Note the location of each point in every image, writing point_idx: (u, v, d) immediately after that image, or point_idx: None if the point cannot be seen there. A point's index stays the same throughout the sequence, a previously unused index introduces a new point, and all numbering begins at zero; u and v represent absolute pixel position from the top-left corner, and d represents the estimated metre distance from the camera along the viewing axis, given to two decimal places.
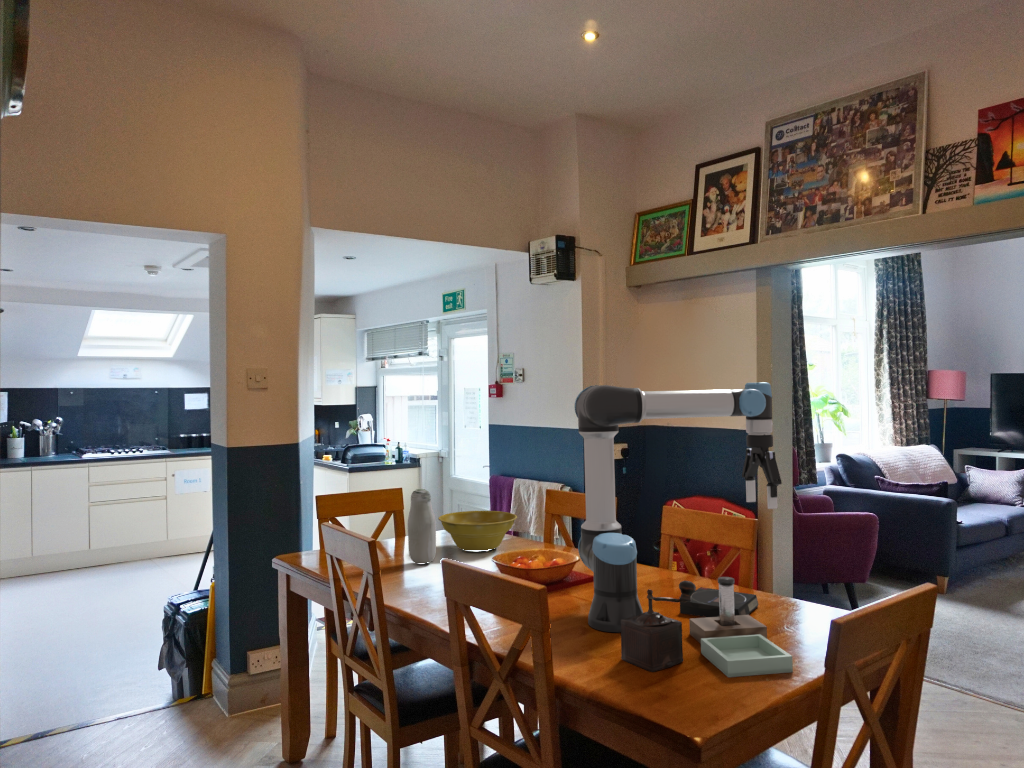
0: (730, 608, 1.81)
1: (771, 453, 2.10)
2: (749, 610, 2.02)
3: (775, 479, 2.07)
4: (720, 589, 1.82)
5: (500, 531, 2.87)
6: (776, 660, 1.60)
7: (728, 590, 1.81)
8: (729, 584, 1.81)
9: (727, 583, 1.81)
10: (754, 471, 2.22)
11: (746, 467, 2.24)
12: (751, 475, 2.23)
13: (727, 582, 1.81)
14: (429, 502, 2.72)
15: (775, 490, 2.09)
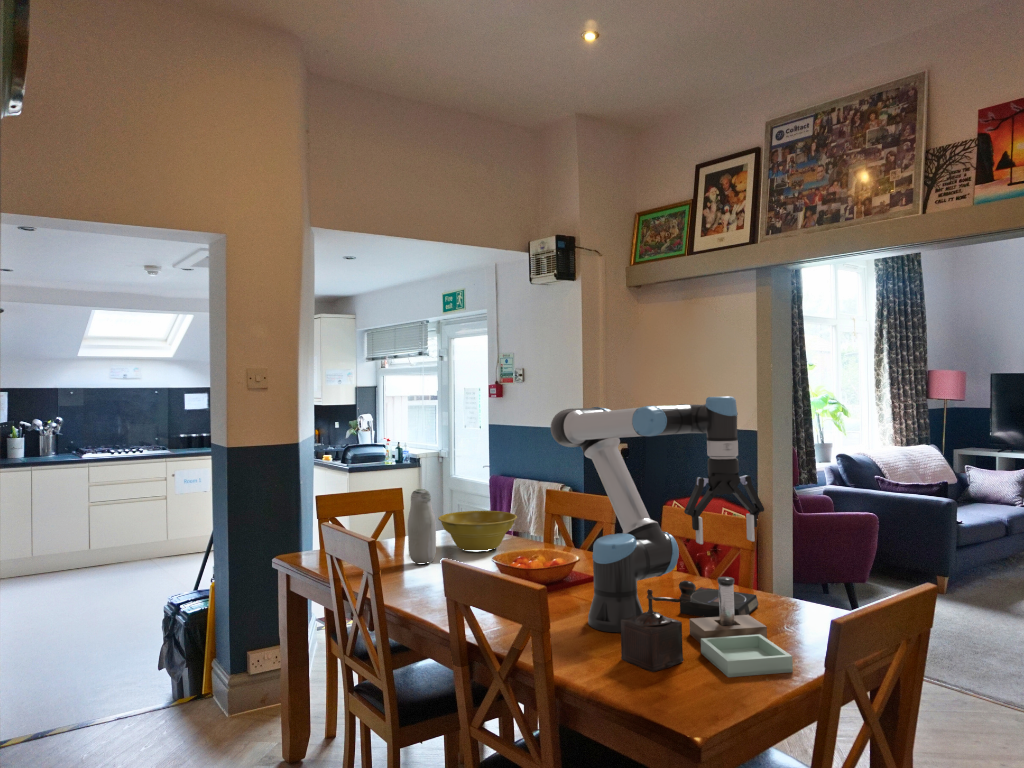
0: (730, 608, 1.81)
1: (698, 479, 1.83)
2: (749, 610, 2.02)
3: (687, 508, 1.82)
4: (720, 589, 1.82)
5: (500, 531, 2.87)
6: (776, 660, 1.60)
7: (727, 590, 1.81)
8: (729, 584, 1.81)
9: (727, 583, 1.81)
10: (743, 503, 1.84)
11: (750, 498, 1.85)
12: (747, 508, 1.84)
13: (727, 582, 1.81)
14: (429, 502, 2.72)
15: (693, 522, 1.82)
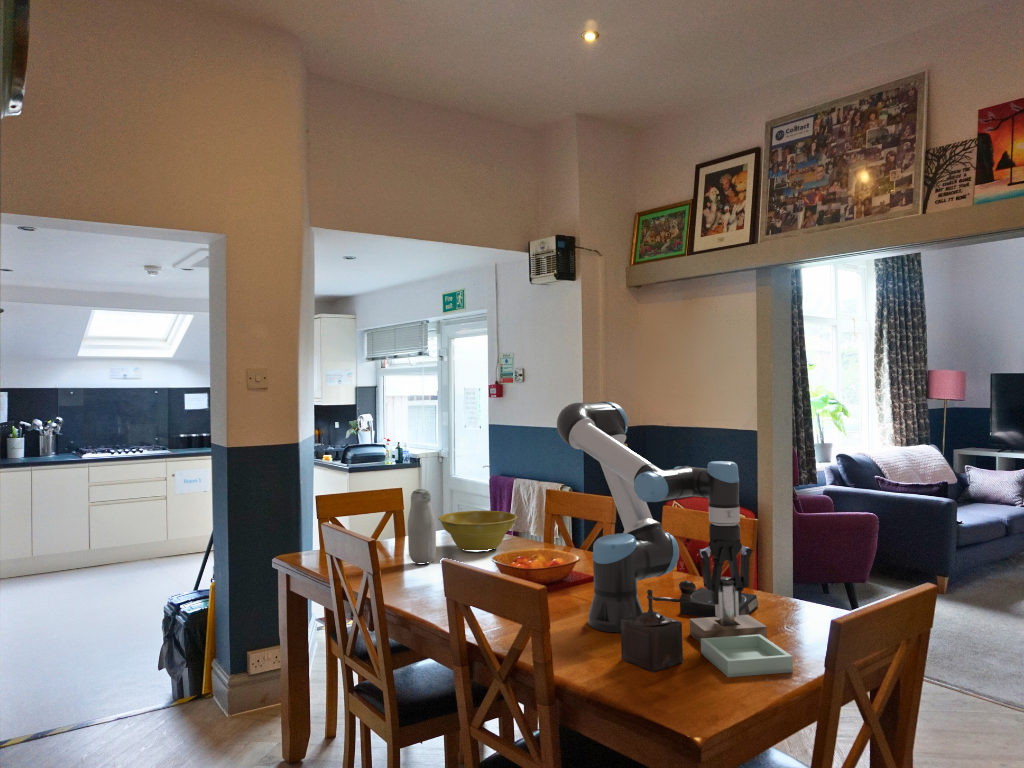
0: (731, 608, 1.81)
1: (700, 553, 1.82)
2: (749, 610, 2.02)
3: (705, 583, 1.83)
4: (720, 589, 1.82)
5: (500, 531, 2.87)
6: (776, 660, 1.60)
7: (728, 590, 1.81)
8: (729, 584, 1.81)
9: (727, 583, 1.81)
10: (733, 574, 1.83)
11: (741, 570, 1.85)
12: None
13: (727, 582, 1.81)
14: (429, 502, 2.72)
15: (713, 596, 1.82)
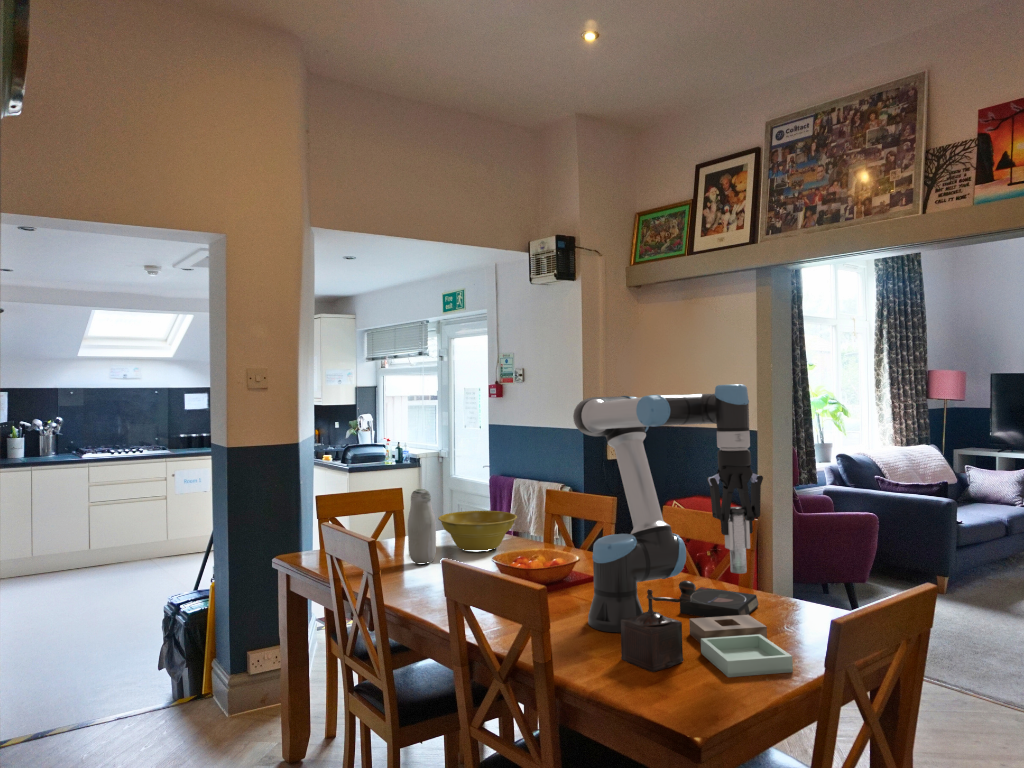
0: (742, 538, 1.71)
1: (709, 480, 1.72)
2: (749, 610, 2.02)
3: (714, 513, 1.72)
4: (730, 519, 1.72)
5: (500, 531, 2.87)
6: (776, 660, 1.60)
7: (738, 519, 1.71)
8: (740, 513, 1.70)
9: (738, 512, 1.70)
10: (744, 503, 1.72)
11: (751, 499, 1.74)
12: None
13: (738, 511, 1.70)
14: (429, 502, 2.72)
15: (722, 526, 1.72)
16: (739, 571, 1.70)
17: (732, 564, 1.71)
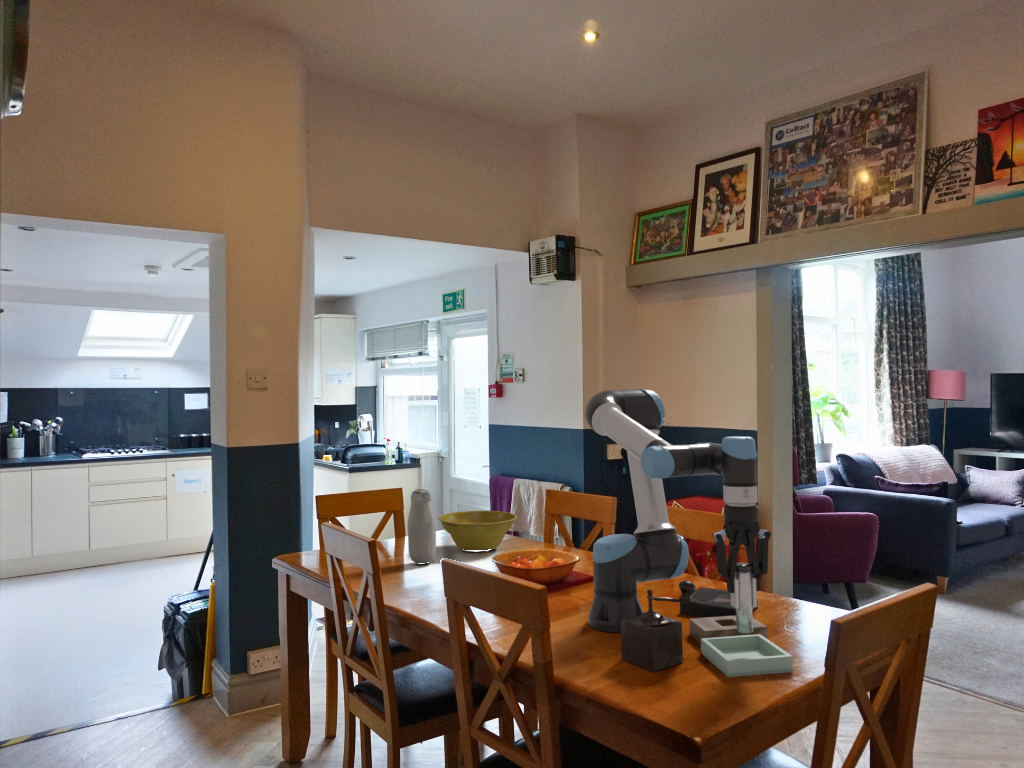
0: (748, 597, 1.65)
1: (715, 536, 1.66)
2: None
3: (719, 569, 1.67)
4: (736, 576, 1.66)
5: (500, 531, 2.87)
6: (776, 660, 1.60)
7: (745, 577, 1.65)
8: (746, 570, 1.65)
9: (744, 569, 1.65)
10: (751, 560, 1.67)
11: (758, 555, 1.68)
12: None
13: (744, 568, 1.65)
14: (429, 502, 2.72)
15: (728, 583, 1.66)
16: (745, 630, 1.65)
17: (738, 623, 1.66)
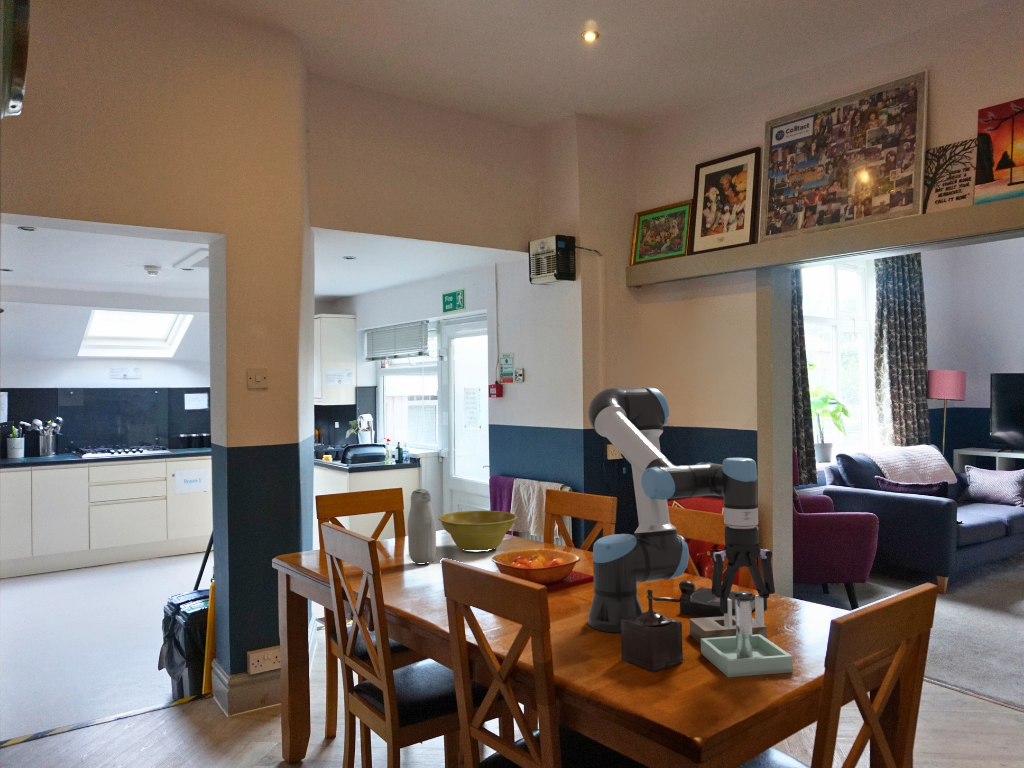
0: (748, 625, 1.65)
1: (714, 556, 1.66)
2: None
3: (713, 589, 1.66)
4: (736, 605, 1.66)
5: (500, 531, 2.87)
6: (776, 660, 1.60)
7: (745, 606, 1.65)
8: (746, 599, 1.65)
9: (744, 598, 1.65)
10: (756, 580, 1.67)
11: (763, 575, 1.69)
12: (757, 587, 1.67)
13: (744, 597, 1.65)
14: (429, 502, 2.72)
15: (721, 604, 1.66)
16: None
17: (738, 651, 1.66)
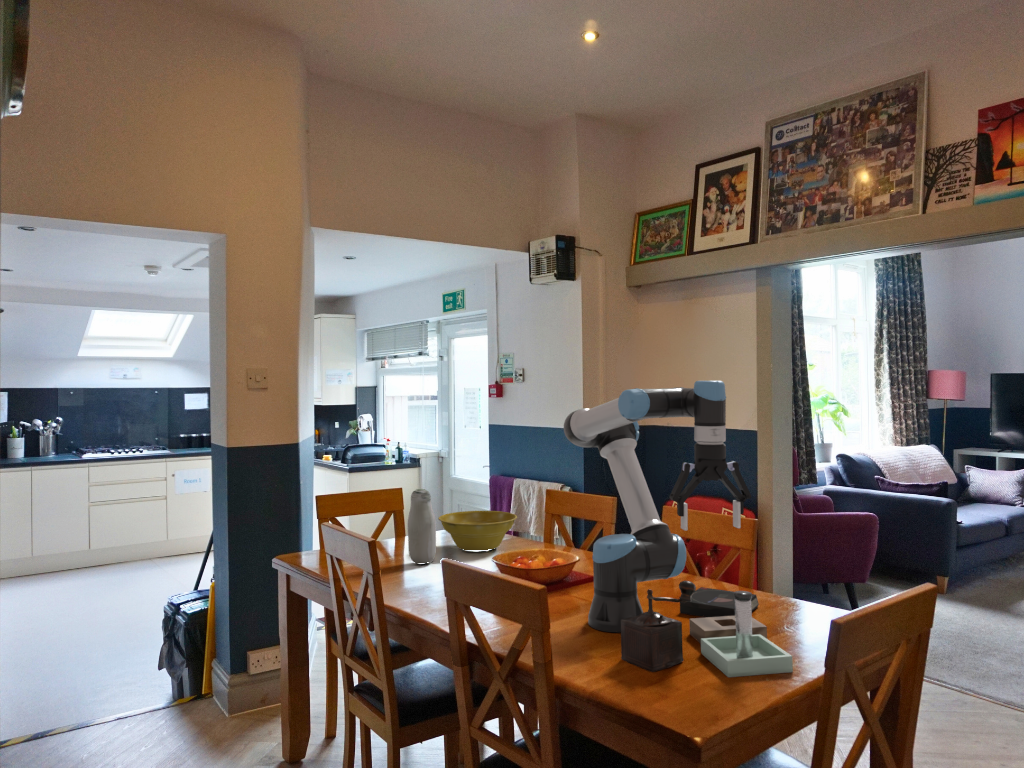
0: (748, 625, 1.65)
1: (684, 465, 1.79)
2: None
3: (672, 494, 1.79)
4: (736, 604, 1.66)
5: (500, 531, 2.87)
6: (776, 660, 1.60)
7: (745, 606, 1.65)
8: (746, 599, 1.65)
9: (744, 598, 1.65)
10: (730, 489, 1.80)
11: (737, 484, 1.82)
12: (733, 494, 1.81)
13: (744, 597, 1.65)
14: (429, 502, 2.72)
15: (678, 507, 1.79)
16: None
17: (738, 651, 1.66)
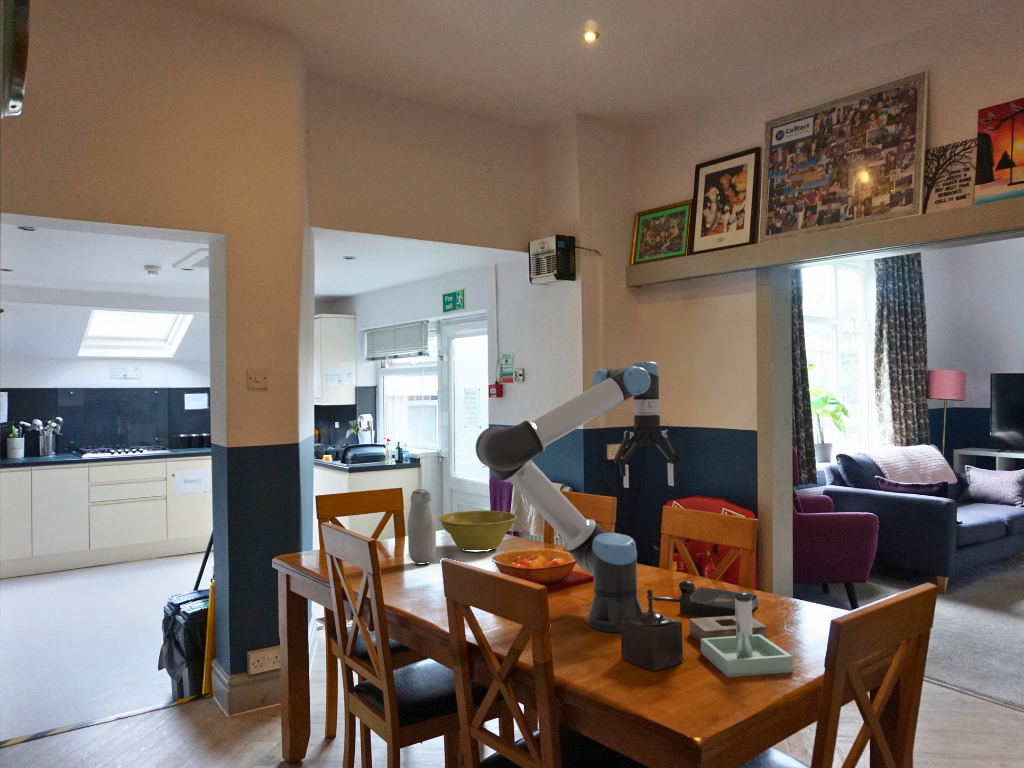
0: (748, 625, 1.65)
1: (625, 433, 2.13)
2: None
3: (615, 457, 2.13)
4: (737, 605, 1.66)
5: (500, 531, 2.87)
6: (776, 660, 1.60)
7: (745, 606, 1.65)
8: (747, 599, 1.65)
9: (744, 598, 1.65)
10: (664, 453, 2.14)
11: (671, 449, 2.16)
12: (667, 457, 2.15)
13: (744, 597, 1.65)
14: (429, 502, 2.72)
15: (621, 469, 2.13)
16: None
17: (738, 651, 1.66)
